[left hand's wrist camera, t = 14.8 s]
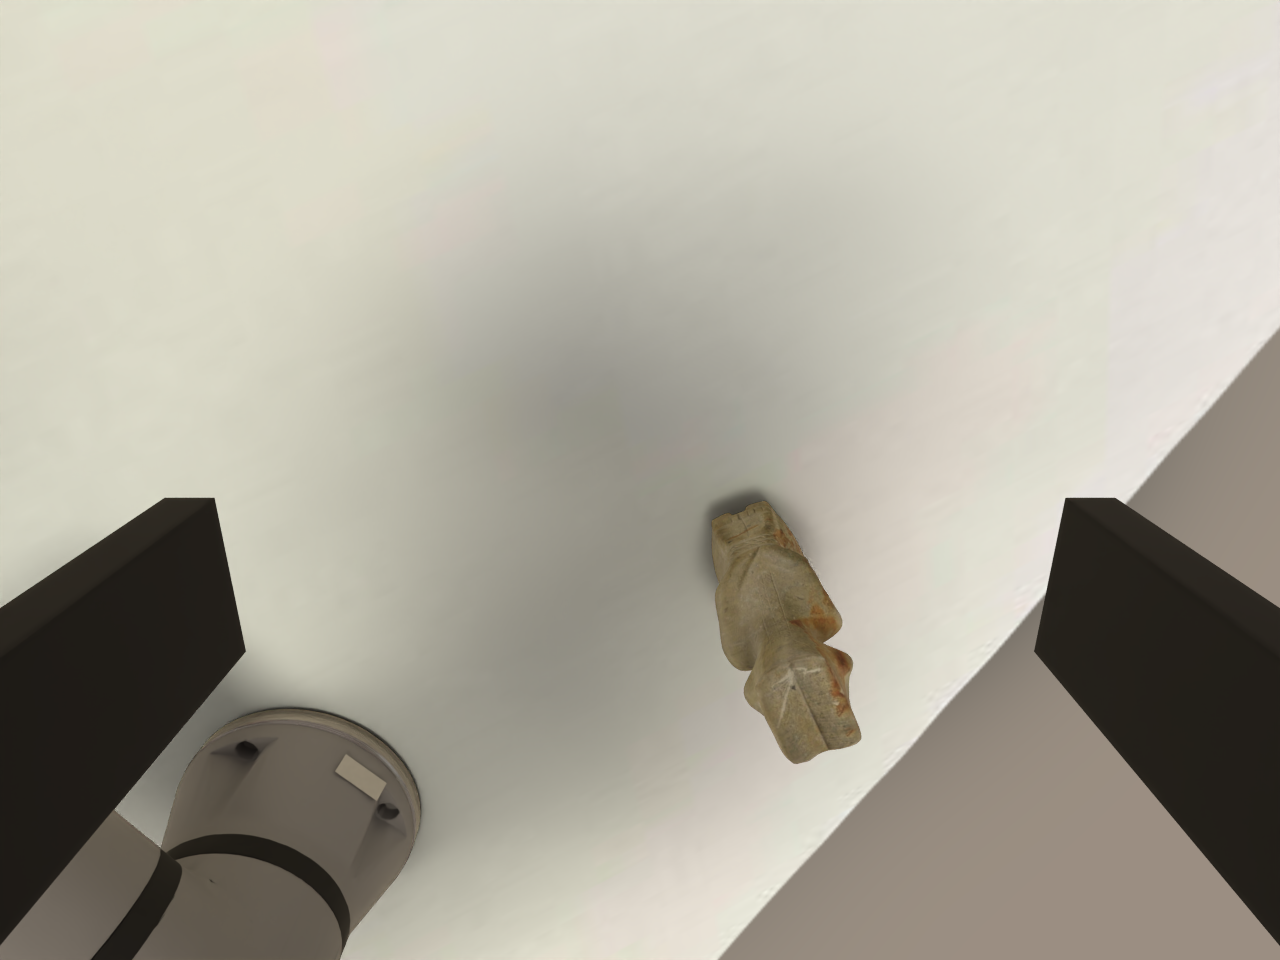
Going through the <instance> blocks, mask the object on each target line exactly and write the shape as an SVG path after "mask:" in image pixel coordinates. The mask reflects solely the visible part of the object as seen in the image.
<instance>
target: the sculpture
mask: <svg viewBox="0 0 1280 960" xmlns="http://www.w3.org/2000/svg"><path fill="white" fill-rule="evenodd" d="M712 557H713V562H714V568H715V572H716V575H717V579H718V581H719V586H718V588H717V590H716V593H715V603H716V609H717V615H718V620H719V627H720V636H721V643H722V648H723V651H724V654H725V655H726V657H727V659H728V660H729V662H730V663H731V664H732V665H733V666H734V667H735V668H737V669H739V670H741V671H749V670H752V671H751V673H750V676H749V678H748V680H747V682H746V684H745V687H744V695H745V698H746V700H747V702H748V703H749V705H750V706H751V707H753V708H754V709H755V710H757V711H758V712H760V713H761V714H762V715H764V716H765V719H766V721H767V723H768V725H769V727H770V729H771V730H772V732H773V734H774V736H775V739H776V741H777V743H778V745H779V747H780V749H781V750H782V752H783V754H784V755H785V756H786V757H787V758H788V759H789V760H790V761H791V762H792V763H794V764H798V763H802V762H807V761H809V760H811V759H812V758H814V757H815V756H816V755H818V754H820V753H822V752H824V751H828V750H835V749H841V748H845V747H849V746H852V745H854V744H857V743H858V742H859V741H860V740H861V732H860V729H859V726H858V723H857V721H856V719H855V716H854V714H853V712H852V709H851V706H850V700H849V676H850V674H851V671H852V668H853V661H852V659H851V657H850V656H849V655H848V654H846V653H844V652H842V651H840V650H838V649H835V648H833V647H830V646H828V645H826V644H824V642H825V641H827V640H828V639H830V638H831V637H833V636H834V635H835V634H836V633H837V632H838V631H839V630H840V629H841V627H842V618H841V616H840V614H839V612H838V611H837V609H836V607H835V606H834V604H833V603H832V601H831V599H830V598H829V596H828V594H827V593H826V591H825V590H824V588H823V586H822V585H821V583H820V581H819V579H818V577H817V575H816V573H815V572H814V570H813V569H812V568H811V566H810V564H809V562H808V560H807V559H806V558H805V557H804V555H803V553H802V551H801V549H800V547H799V545H798V543H797V541H796V539H795V537H794V536H793V534H792V533H791V531H790V530H789V528H788V527H787V525H786V524H785V523H784V521H783V520H782V519H781V518H780V517H779V516H778V515H777V514H776V513H775V511H774V510H773V509H772V507H771V506H770V505H769V503H768V502H766V501H761V502H757V503H753V504H750V505H748V506H747V507H746V509H745V511H743V512H740V513H737V514H734V515H732V514H730V513H726V514H723V515H721V516H719V517H717V518H715V519H713V520H712Z"/></svg>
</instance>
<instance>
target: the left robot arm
mask: <svg viewBox="0 0 1280 960" xmlns="http://www.w3.org/2000/svg"><path fill="white" fill-rule="evenodd" d="M245 652H246V650H245V645H244V640H243V635H242V630H241V626H240V621H239V616H238V611H237V606H236V601H235V596H234V591H233V586H232V581H231V577H230V572H229V567H228V562H227V557H226V552H225V547H224V542H223V537H222V532H221V528H220V523H219V518H218V513H217V508H216V503H215V498H164V499H162V500H161V501H159V502H158V503H156V504H155V505H153V506H152V507H150V508H149V509H147V510H146V511H144V512H143V513H141V514H140V515H139V516H137V517H136V518H134V519H133V520H131V521H130V522H128V523H127V524H125V525H124V526H122V527H121V528H119V529H118V530H116V531H115V532H113V533H112V534H110V535H109V536H107V537H106V538H104V539H103V540H101V541H100V542H98V543H97V544H95V545H94V546H92V547H91V548H89V549H88V550H86V551H85V552H83V553H82V554H80V555H79V556H77V557H76V558H74V559H73V560H71V561H70V562H68V563H67V564H65V565H64V566H62V567H61V568H59V569H58V570H56V571H55V572H53V573H52V574H50V575H49V576H48V577H46V578H45V579H43V580H42V581H40V582H39V583H37V584H36V585H34V586H33V587H31V588H30V589H28V590H27V591H25V592H24V593H22V594H21V595H19V596H18V597H16V598H15V599H13V600H12V601H10V602H9V603H7V604H6V605H4V606H3V607H1V608H0V960H340V957H341V955H342V952H343V950H344V947H345V945H346V942H347V939H348V937H349V935H350V933H351V932H352V931H353V930H354V928H355V927H356V926H357V925H358V924H359V922H360V921H361V920H362V919H363V918H364V916H365V915H366V914H367V913H368V912H369V910H370V909H371V908H372V907H373V905H374V904H375V903H376V902H377V901H378V899H379V898H380V897H381V896H382V895H383V893H384V892H385V891H386V890H387V889H388V887H389V886H390V885H391V884H392V882H393V881H394V880H395V879H396V878H397V876H398V875H399V873H400V871H401V870H402V868H403V866H404V865H405V863H406V861H407V859H408V858H409V855H410V853H411V850H412V847H413V844H414V842H415V839H416V836H417V833H418V829H419V825H420V816H421V815H420V801H419V796H418V792H417V789H416V786H415V783H414V781H413V779H412V777H411V775H410V773H409V771H408V770H407V768H406V767H405V765H404V764H403V762H402V761H401V760H400V759H399V757H398V756H397V755H396V754H395V753H394V752H393V751H392V750H391V749H390V748H389V747H388V746H387V745H386V744H384V743H383V742H382V741H381V740H380V739H378V738H377V737H375V736H374V735H373V734H371V733H370V732H368V731H366V730H365V729H363V728H361V727H359V726H357V725H355V724H353V723H351V722H349V721H346V720H344V719H341V718H339V717H336V716H332V715H329V714H325V713H321V712H317V711H310V710H303V709H275V710H267V711H261V712H256V713H253V714H249V715H246V716H244V717H241V718H238V719H236V720H234V721H232V722H230V723H228V724H227V725H225V726H224V727H222V728H221V729H219V730H218V731H217V732H216V733H214V734H213V735H212V736H211V737H210V738H209V739H208V740H207V741H206V743H205V744H204V745H203V746H202V748H201V749H200V750H199V752H198V753H197V754H196V755H195V757H194V758H193V759H192V761H191V762H190V764H189V765H188V767H187V769H186V771H185V773H184V775H183V777H182V779H181V781H180V783H179V786H178V788H177V792H176V795H175V799H174V802H173V806H172V810H171V813H170V817H169V820H168V824H167V828H166V831H165V835H164V838H163V842H162V846H161V848H160V847H158V846H157V845H156V844H155V843H154V842H152V841H151V840H150V839H149V838H147V837H146V836H145V835H144V834H143V833H141V832H140V831H139V830H138V829H136V828H135V827H134V826H133V825H131V824H130V823H129V822H128V821H127V820H125V819H124V818H123V817H122V816H120V815H119V814H118V813H117V812H116V811H114V809H115V808H116V806H117V805H118V804H119V803H120V802H121V800H122V799H123V798H124V797H125V796H126V794H127V793H128V792H129V791H130V790H131V788H132V787H133V786H134V785H135V784H136V782H137V781H138V780H139V779H140V778H141V776H142V775H143V774H144V773H145V772H146V770H147V769H148V768H149V767H150V766H151V764H152V763H153V762H154V761H155V760H156V758H157V757H158V756H159V755H160V754H161V752H162V751H163V750H164V749H165V748H166V746H167V745H168V744H169V743H170V742H171V740H172V739H173V738H174V737H175V736H176V734H177V733H178V732H179V731H180V730H181V728H182V727H183V726H184V725H185V724H186V722H187V721H188V720H189V719H190V718H191V717H192V715H193V714H194V713H195V712H196V711H197V709H198V708H199V707H200V706H201V705H202V703H203V702H204V701H205V700H206V699H207V697H208V696H209V695H210V694H211V693H212V691H213V690H214V689H215V688H216V687H217V685H218V684H219V683H220V682H221V681H222V679H223V678H224V677H225V676H226V675H227V673H228V672H229V671H230V670H231V669H232V667H233V666H234V665H235V664H236V663H237V661H238V660H239V659H240V658H241V657H242V655H243V654H244V653H245ZM1034 652H1035V653H1036V654H1037V655H1038V657H1039V658H1040V659H1041V660H1042V661H1043V663H1044V664H1045V665H1046V666H1047V667H1048V669H1049V670H1050V671H1051V672H1052V673H1053V675H1054V676H1055V677H1056V678H1057V679H1058V681H1059V682H1060V683H1061V684H1062V685H1063V687H1064V688H1065V689H1066V690H1067V691H1068V693H1069V694H1070V695H1071V696H1072V697H1073V699H1074V700H1075V701H1076V702H1077V703H1078V705H1079V706H1080V707H1081V708H1082V709H1083V711H1084V712H1085V713H1086V714H1087V715H1088V716H1089V718H1090V719H1091V720H1092V721H1093V722H1094V724H1095V725H1096V726H1097V727H1098V728H1099V730H1100V731H1101V732H1102V733H1103V734H1104V736H1105V737H1106V738H1107V739H1108V740H1109V742H1110V743H1111V744H1112V745H1113V746H1114V748H1115V749H1116V750H1117V751H1118V752H1119V754H1120V755H1121V756H1122V757H1123V758H1124V760H1125V761H1126V762H1127V763H1128V764H1129V766H1130V767H1131V768H1132V769H1133V770H1134V772H1135V773H1136V774H1137V775H1138V776H1139V778H1140V779H1141V780H1142V781H1143V782H1144V783H1145V785H1146V786H1147V787H1148V788H1149V790H1150V791H1151V792H1152V793H1153V794H1154V795H1155V797H1156V798H1157V799H1158V800H1159V802H1160V803H1161V804H1162V805H1163V806H1164V808H1165V809H1166V810H1167V811H1168V812H1169V814H1170V815H1171V816H1172V817H1173V818H1174V820H1175V821H1176V822H1177V823H1178V824H1179V825H1180V827H1181V828H1182V829H1183V830H1184V831H1185V833H1186V834H1187V835H1188V836H1189V837H1190V839H1191V840H1192V841H1193V842H1194V843H1195V845H1196V846H1197V847H1198V848H1199V849H1200V851H1201V852H1202V853H1203V854H1204V855H1205V857H1206V858H1207V859H1208V860H1209V861H1210V863H1211V864H1212V865H1213V866H1214V867H1215V869H1216V870H1217V871H1218V872H1219V873H1220V875H1221V876H1222V877H1223V878H1224V879H1225V881H1226V882H1227V883H1228V884H1229V885H1230V887H1231V888H1232V889H1233V890H1234V891H1235V893H1236V894H1237V895H1238V896H1239V897H1240V899H1241V900H1242V901H1243V902H1244V903H1245V905H1246V906H1247V907H1248V908H1249V909H1250V910H1251V912H1252V913H1253V914H1254V915H1255V917H1256V918H1257V919H1258V920H1259V921H1260V923H1261V924H1262V925H1263V926H1264V927H1265V929H1266V930H1267V931H1268V932H1269V933H1270V934H1271V936H1272V937H1273V938H1274V939H1275V940H1276V942H1277V943H1278V944H1279V945H1280V608H1279V607H1277V606H1276V605H1274V604H1273V603H1271V602H1270V601H1268V600H1267V599H1265V598H1264V597H1262V596H1261V595H1259V594H1258V593H1256V592H1255V591H1253V590H1252V589H1250V588H1249V587H1247V586H1246V585H1244V584H1243V583H1241V582H1240V581H1238V580H1237V579H1235V578H1234V577H1232V576H1231V575H1230V574H1228V573H1227V572H1225V571H1224V570H1222V569H1221V568H1219V567H1218V566H1216V565H1215V564H1213V563H1212V562H1210V561H1209V560H1207V559H1206V558H1204V557H1203V556H1201V555H1200V554H1198V553H1197V552H1195V551H1194V550H1192V549H1191V548H1189V547H1188V546H1186V545H1185V544H1183V543H1182V542H1180V541H1179V540H1177V539H1176V538H1174V537H1173V536H1171V535H1170V534H1168V533H1167V532H1165V531H1164V530H1162V529H1161V528H1159V527H1158V526H1156V525H1155V524H1153V523H1152V522H1150V521H1149V520H1147V519H1146V518H1144V517H1143V516H1141V515H1140V514H1139V513H1137V512H1136V511H1134V510H1132V509H1131V508H1129V507H1128V506H1127V505H1125V504H1124V503H1122V502H1121V501H1119V500H1118V499H1116V498H1065V503H1064V508H1063V513H1062V518H1061V523H1060V528H1059V532H1058V537H1057V542H1056V547H1055V552H1054V557H1053V562H1052V567H1051V572H1050V577H1049V581H1048V586H1047V591H1046V596H1045V601H1044V606H1043V611H1042V616H1041V621H1040V626H1039V630H1038V635H1037V640H1036V645H1035V650H1034Z"/></svg>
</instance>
